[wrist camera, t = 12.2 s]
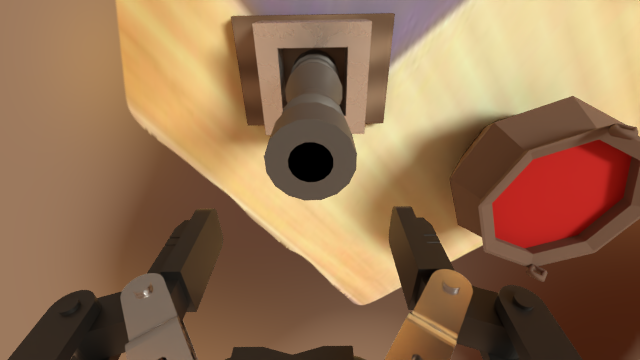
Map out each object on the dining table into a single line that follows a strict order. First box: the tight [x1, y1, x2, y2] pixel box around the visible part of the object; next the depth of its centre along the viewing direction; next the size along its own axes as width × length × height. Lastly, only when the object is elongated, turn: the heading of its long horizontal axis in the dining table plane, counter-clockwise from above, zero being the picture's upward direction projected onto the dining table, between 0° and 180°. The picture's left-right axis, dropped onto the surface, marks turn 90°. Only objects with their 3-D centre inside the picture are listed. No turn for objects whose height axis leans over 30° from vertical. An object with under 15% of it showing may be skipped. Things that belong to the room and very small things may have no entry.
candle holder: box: [264, 50, 357, 200], centre depth 28 cm, size 6×6×25 cm
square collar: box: [252, 19, 372, 135], centre depth 37 cm, size 13×13×5 cm
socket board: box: [231, 13, 395, 125], centre depth 39 cm, size 14×20×2 cm
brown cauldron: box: [450, 96, 640, 281], centre depth 40 cm, size 24×24×16 cm
